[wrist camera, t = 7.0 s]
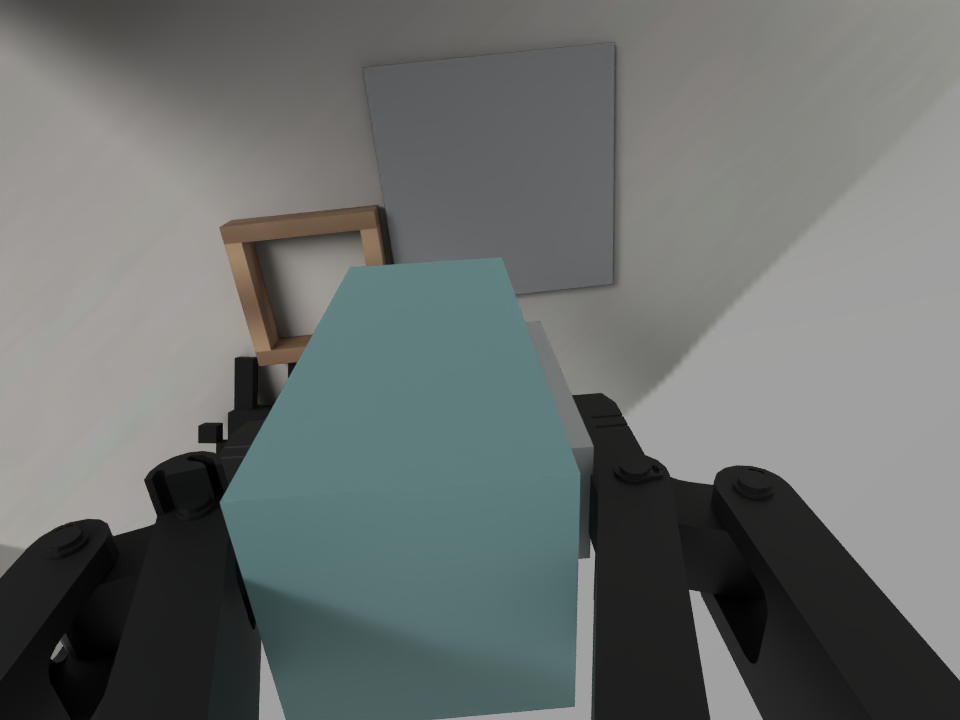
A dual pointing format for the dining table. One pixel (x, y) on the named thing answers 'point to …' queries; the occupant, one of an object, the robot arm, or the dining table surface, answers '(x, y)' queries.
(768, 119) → the dining table surface
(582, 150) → the pad
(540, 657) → the block
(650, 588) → the robot arm
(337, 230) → the wooden square frame
